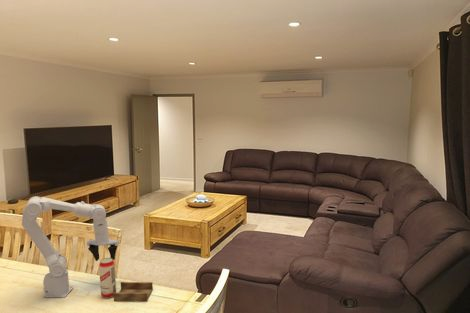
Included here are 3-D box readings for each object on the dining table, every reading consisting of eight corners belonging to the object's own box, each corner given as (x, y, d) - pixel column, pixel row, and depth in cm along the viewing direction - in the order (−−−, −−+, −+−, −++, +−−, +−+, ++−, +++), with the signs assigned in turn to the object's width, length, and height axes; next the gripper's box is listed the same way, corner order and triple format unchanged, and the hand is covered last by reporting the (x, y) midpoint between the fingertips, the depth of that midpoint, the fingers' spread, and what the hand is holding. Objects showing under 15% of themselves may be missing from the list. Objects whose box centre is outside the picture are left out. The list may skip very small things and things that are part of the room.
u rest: (113, 301, 150) (113, 293, 149) (121, 289, 159) (121, 281, 159) (147, 301, 149) (146, 293, 149) (152, 289, 159) (152, 282, 158)
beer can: (111, 299, 151) (109, 264, 148) (98, 298, 152) (95, 262, 150) (119, 291, 157) (117, 257, 154) (106, 290, 158) (104, 256, 156)
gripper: (120, 228, 162) (124, 256, 165) (91, 228, 165) (95, 255, 167) (113, 234, 156) (117, 263, 158) (82, 234, 158) (86, 263, 160)
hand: (105, 260), depth 162 cm, fingers open, 7 cm apart
